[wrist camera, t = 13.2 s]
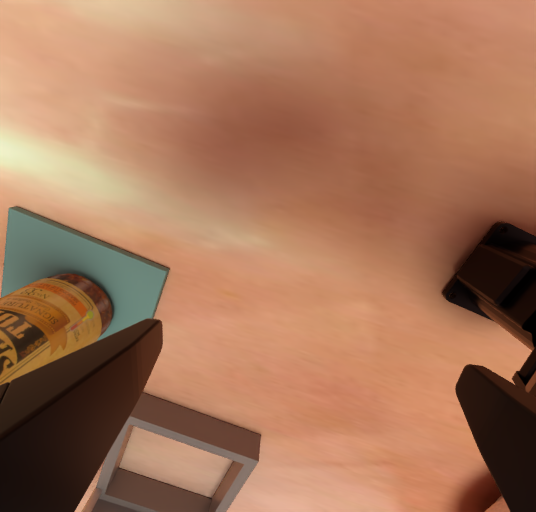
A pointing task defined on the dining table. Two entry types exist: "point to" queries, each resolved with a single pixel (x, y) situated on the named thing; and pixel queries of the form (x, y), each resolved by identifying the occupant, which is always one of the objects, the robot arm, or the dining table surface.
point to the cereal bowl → (499, 506)
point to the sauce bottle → (49, 322)
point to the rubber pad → (81, 266)
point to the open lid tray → (183, 430)
